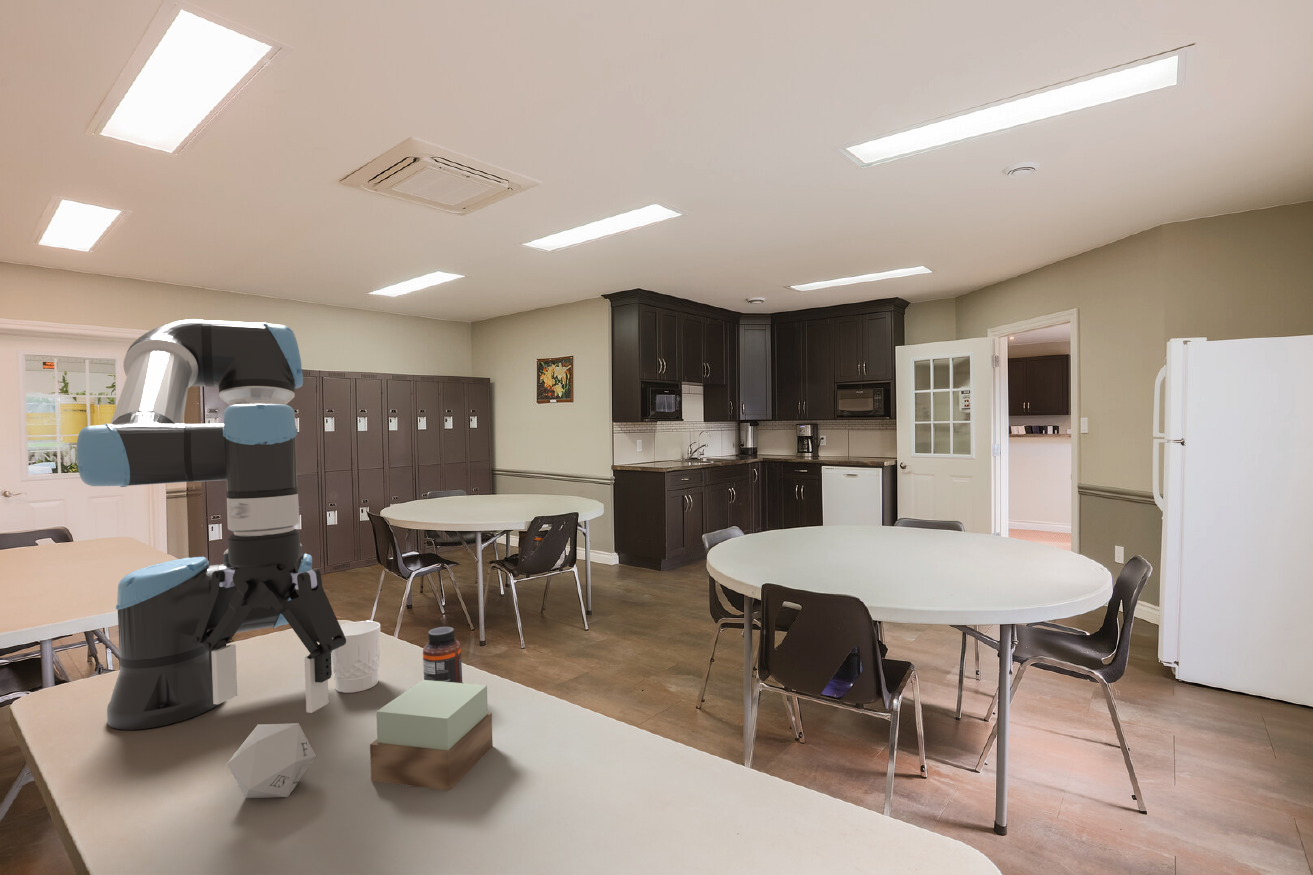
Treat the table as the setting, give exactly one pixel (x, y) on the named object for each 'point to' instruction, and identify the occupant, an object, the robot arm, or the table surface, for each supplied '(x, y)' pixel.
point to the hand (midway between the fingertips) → (270, 703)
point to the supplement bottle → (442, 656)
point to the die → (271, 760)
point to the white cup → (357, 657)
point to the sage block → (432, 714)
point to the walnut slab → (431, 760)
